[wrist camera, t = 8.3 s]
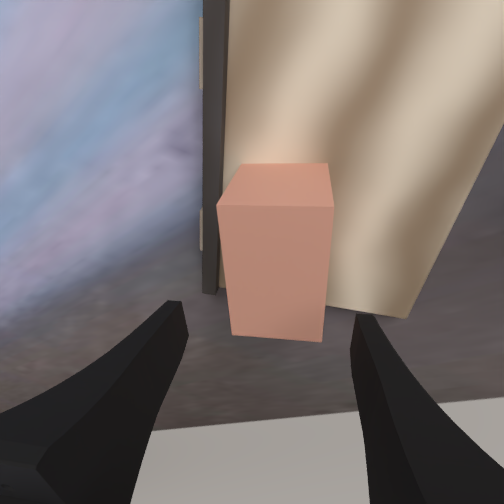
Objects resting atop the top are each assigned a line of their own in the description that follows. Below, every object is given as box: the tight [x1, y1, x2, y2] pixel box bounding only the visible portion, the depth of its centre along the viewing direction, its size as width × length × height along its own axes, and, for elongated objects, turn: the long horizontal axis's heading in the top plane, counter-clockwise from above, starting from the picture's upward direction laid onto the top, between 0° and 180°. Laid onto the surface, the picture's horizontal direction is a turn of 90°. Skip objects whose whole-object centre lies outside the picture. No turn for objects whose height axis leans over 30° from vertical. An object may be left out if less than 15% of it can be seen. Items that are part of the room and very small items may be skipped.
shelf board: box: [199, 0, 504, 319], centre depth 18 cm, size 15×20×2 cm
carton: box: [216, 163, 334, 342], centre depth 18 cm, size 5×8×6 cm, turn 3°
